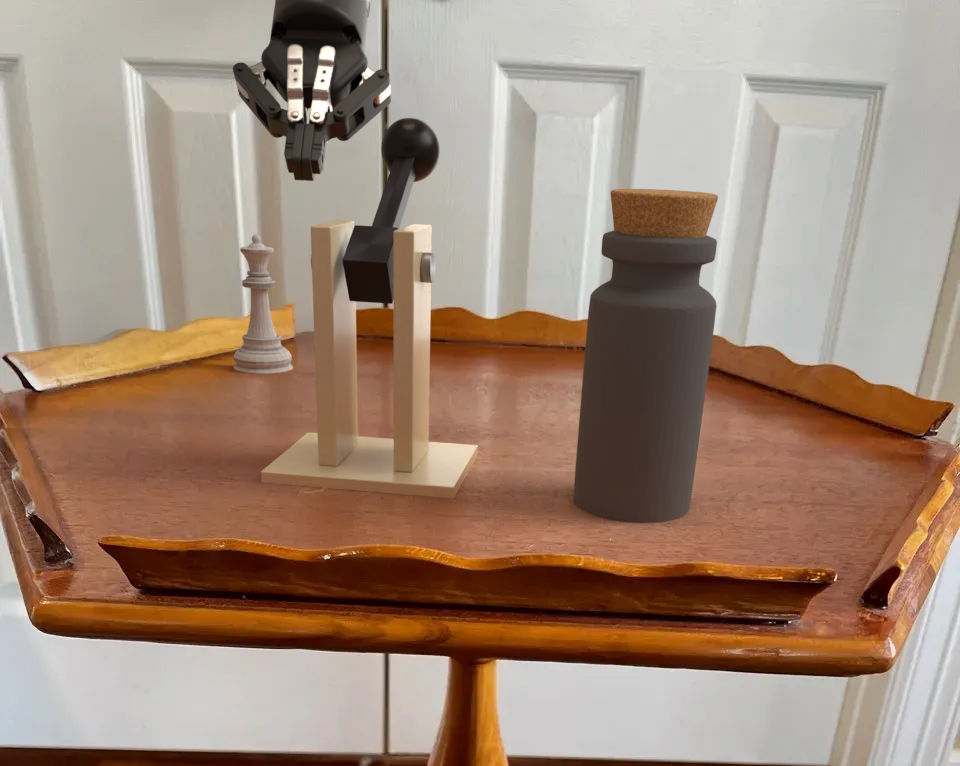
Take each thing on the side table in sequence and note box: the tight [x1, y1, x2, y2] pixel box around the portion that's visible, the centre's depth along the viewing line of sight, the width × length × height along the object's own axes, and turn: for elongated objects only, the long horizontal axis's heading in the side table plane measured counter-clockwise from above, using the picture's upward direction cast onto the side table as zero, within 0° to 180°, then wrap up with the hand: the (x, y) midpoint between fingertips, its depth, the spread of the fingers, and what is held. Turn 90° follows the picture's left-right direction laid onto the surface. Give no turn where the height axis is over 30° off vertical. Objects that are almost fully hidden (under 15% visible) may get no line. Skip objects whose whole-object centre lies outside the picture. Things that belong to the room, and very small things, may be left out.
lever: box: [342, 117, 441, 305], centre depth 53 cm, size 13×3×3 cm, turn 171°
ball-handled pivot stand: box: [260, 219, 479, 499], centre depth 53 cm, size 8×10×13 cm
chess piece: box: [233, 234, 294, 375], centre depth 75 cm, size 4×4×10 cm
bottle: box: [572, 188, 719, 524], centre depth 48 cm, size 6×6×15 cm
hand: (302, 172), depth 79 cm, fingers closed
